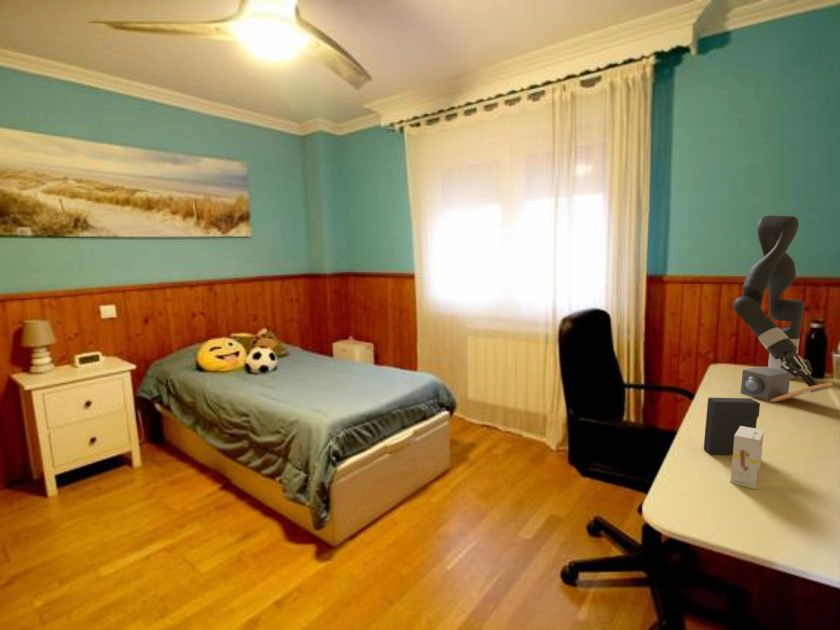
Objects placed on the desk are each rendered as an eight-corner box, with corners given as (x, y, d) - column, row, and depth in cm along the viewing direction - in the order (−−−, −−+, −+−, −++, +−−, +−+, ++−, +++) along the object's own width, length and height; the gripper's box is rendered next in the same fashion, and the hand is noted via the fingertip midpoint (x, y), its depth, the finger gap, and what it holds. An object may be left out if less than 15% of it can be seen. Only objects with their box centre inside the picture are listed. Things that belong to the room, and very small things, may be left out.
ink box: (735, 469, 108) (739, 424, 106) (760, 476, 104) (765, 429, 103) (728, 482, 102) (733, 434, 100) (755, 490, 98) (760, 441, 97)
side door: (787, 395, 158) (831, 381, 146) (790, 400, 157) (834, 386, 145) (768, 399, 154) (812, 385, 141) (771, 404, 153) (815, 391, 141)
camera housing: (760, 391, 166) (763, 366, 165) (787, 398, 158) (790, 372, 157) (736, 396, 161) (739, 370, 160) (763, 404, 153) (766, 376, 151)
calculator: (744, 450, 118) (749, 397, 116) (754, 457, 114) (760, 402, 112) (701, 448, 119) (706, 396, 117) (710, 456, 115) (715, 401, 113)
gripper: (774, 338, 150) (813, 382, 140) (798, 335, 154) (836, 378, 145) (756, 350, 155) (792, 393, 146) (779, 347, 160) (815, 388, 151)
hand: (814, 385), depth 145 cm, fingers closed
